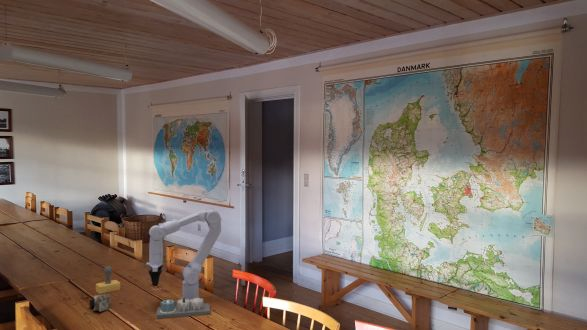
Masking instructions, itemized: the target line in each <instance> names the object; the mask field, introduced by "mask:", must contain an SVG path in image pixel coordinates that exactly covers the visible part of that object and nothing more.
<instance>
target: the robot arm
mask: <svg viewBox="0 0 587 330" xmlns="http://www.w3.org/2000/svg"><path fill="white" fill-rule="evenodd" d="M196 222H203V223H206V224H207V226H208V229H209V230H208V232H207V234H206V236H205V237H204V239H203V241H202V242H201V245H200V246H199V247H198V250H197V251H196V254H195V255H194V257H193V258H192V259H191V261H190V262H189V263H188V265H187V266H185V267H184V268H183V269H182V277H183V278H184V279H183V281H182V297H181V299H183V298H185V299H189V300H190V299H193V298H200V296H199V285H200V282H199V280H200V274H201V272H202V267H203V264H204V263H205V262H206V259H207V258H208V256H209V254H210V253H211V250H212V249H213V247H214V245H215V244H216V242H217V240H218V238H219V236H220V235H221V233H222V217H221V215H220V213H219V211H217V210H215V209H214V208H212V207H207V208H204V209H200V210H197V211H196V212H193V213H192V214H189V215H187V216H184V217H183V218H182V217H181V218H180V219H176V218H169V219H168V221H165V222H160V223H158V224H156V225H153V226H151V227H150V228H149V231H148V234H149V236H150V237H149V246H148V247H149V248H148V249H149V253H148V254H149V255H148V256H149V258H148V260H149V262H148V261H147V262H146V264H145V265H146V266H149V267H150V269H149V270H148V271H147V272H148V275H149V276H150V280H151V285H152V287H158V286H159V281H160V276H161V274H162V272H163V269H162V268H163V266H164V259H163V257H164V253H163V252H164V242H163V238H164V236H165V237H166V236H168V235H171V234H174V233H176V232H178V231H180V229H181V228H182V227H184V226H187V225H190V224H192V223H196Z"/></svg>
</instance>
